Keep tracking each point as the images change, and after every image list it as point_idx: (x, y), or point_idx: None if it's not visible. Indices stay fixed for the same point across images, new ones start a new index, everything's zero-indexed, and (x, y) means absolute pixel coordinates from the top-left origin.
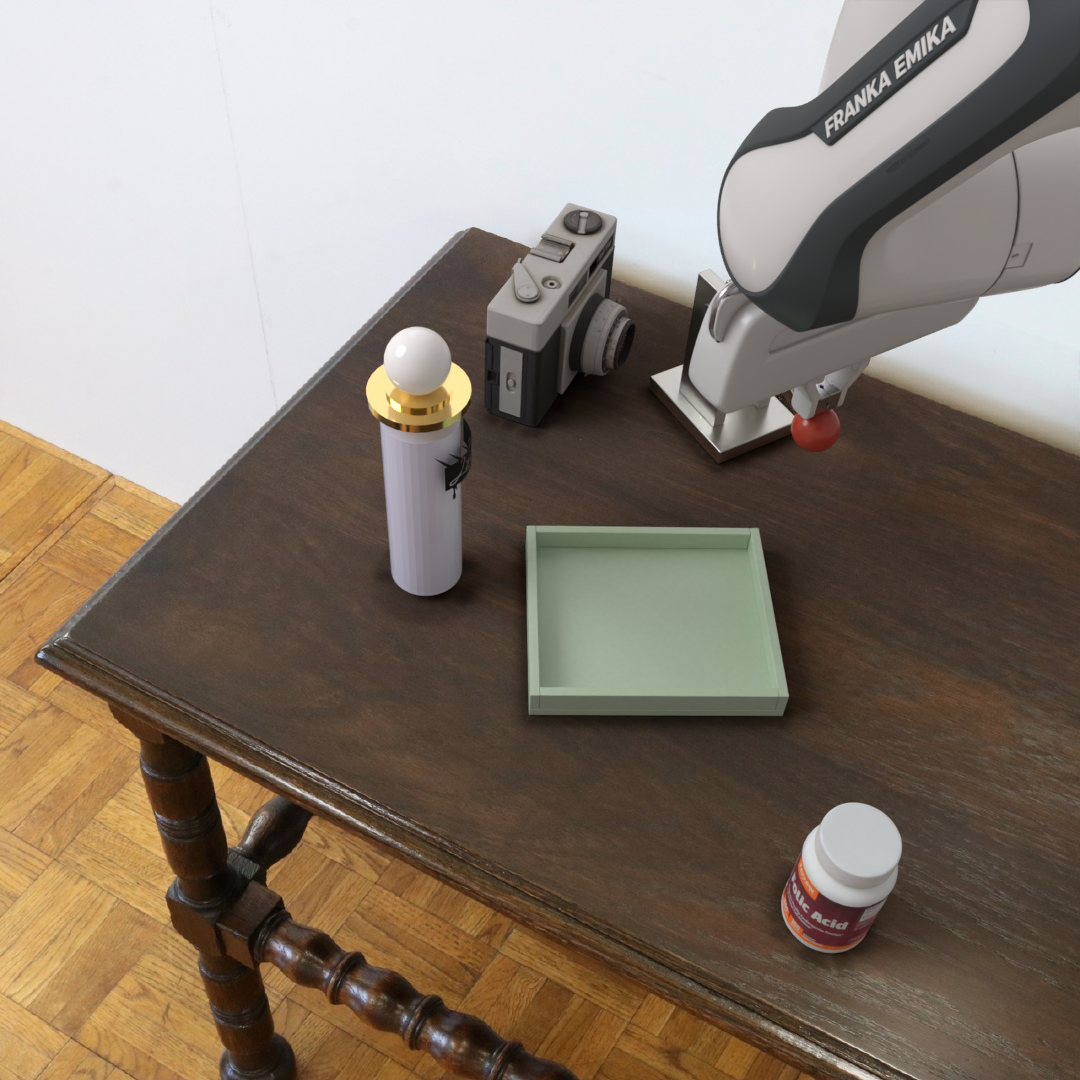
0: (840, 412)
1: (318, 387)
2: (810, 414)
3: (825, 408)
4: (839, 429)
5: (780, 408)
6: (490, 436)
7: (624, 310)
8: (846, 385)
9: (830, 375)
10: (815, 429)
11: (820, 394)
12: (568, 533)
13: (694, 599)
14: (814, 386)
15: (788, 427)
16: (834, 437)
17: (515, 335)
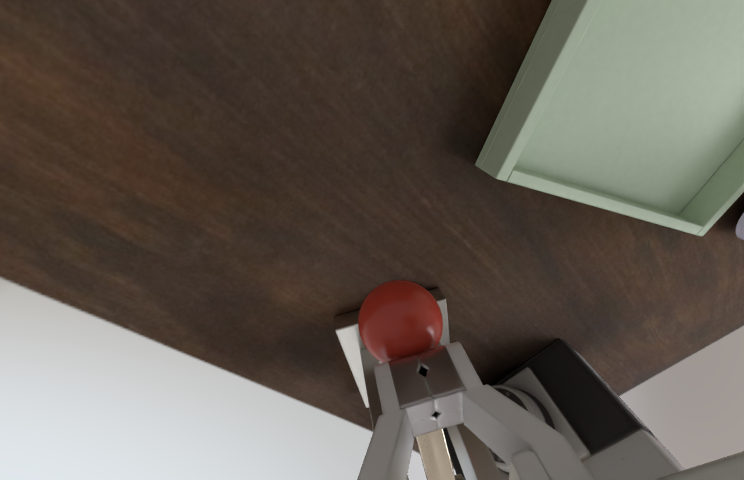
0: (268, 336)
1: (652, 375)
2: (463, 353)
3: (423, 363)
4: (373, 316)
5: (349, 346)
6: (594, 333)
7: (494, 460)
8: (395, 424)
9: (409, 441)
10: (429, 319)
11: (452, 400)
12: (680, 219)
13: (607, 93)
14: (534, 441)
15: (349, 322)
16: (389, 301)
17: (663, 448)
